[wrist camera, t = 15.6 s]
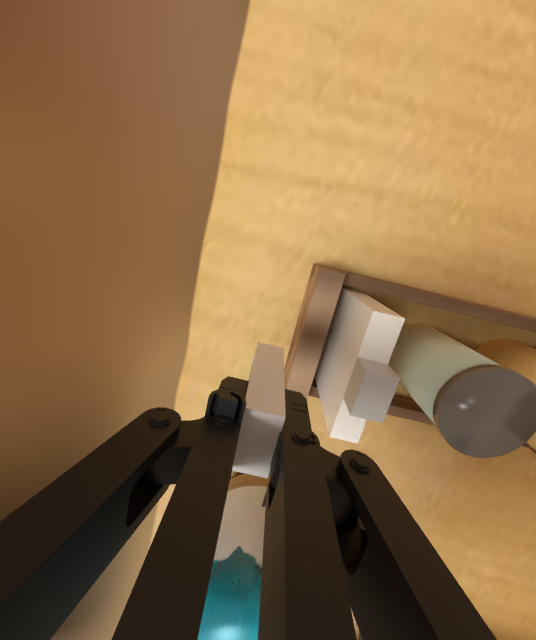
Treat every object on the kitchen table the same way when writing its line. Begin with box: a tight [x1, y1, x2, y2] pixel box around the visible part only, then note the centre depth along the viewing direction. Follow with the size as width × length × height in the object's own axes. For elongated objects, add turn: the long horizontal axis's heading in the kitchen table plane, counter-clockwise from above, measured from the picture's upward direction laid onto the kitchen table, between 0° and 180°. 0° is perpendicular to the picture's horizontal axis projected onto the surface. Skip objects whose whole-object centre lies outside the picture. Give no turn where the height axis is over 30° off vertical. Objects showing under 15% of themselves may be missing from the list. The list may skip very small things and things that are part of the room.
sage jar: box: [388, 324, 536, 458], centre depth 24 cm, size 6×6×11 cm
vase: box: [198, 473, 270, 640], centre depth 25 cm, size 11×11×19 cm
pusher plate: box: [314, 287, 405, 443], centre depth 23 cm, size 9×2×12 cm, turn 167°
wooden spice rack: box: [284, 264, 536, 453], centre depth 26 cm, size 12×26×6 cm, turn 76°
